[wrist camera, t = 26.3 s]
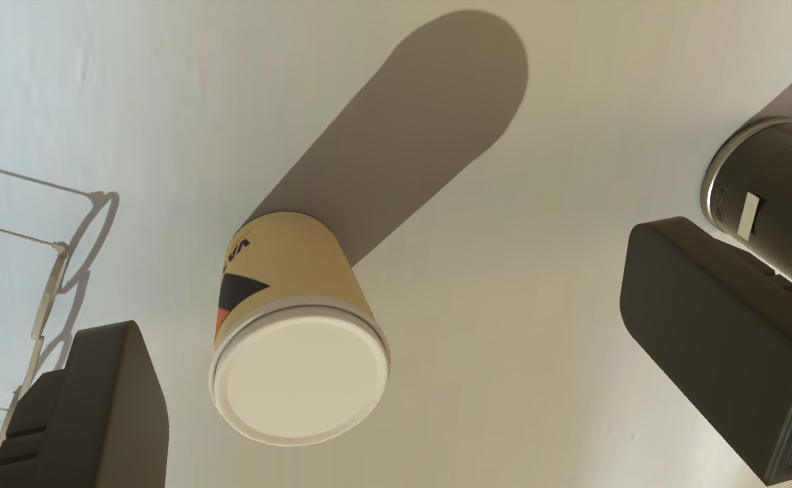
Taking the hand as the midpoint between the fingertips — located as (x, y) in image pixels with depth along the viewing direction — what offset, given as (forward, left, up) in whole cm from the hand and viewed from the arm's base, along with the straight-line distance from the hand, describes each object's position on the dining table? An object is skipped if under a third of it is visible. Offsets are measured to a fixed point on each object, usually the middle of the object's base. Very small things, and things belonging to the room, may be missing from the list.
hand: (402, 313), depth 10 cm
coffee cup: (+2, +16, -28) cm, 33 cm away
